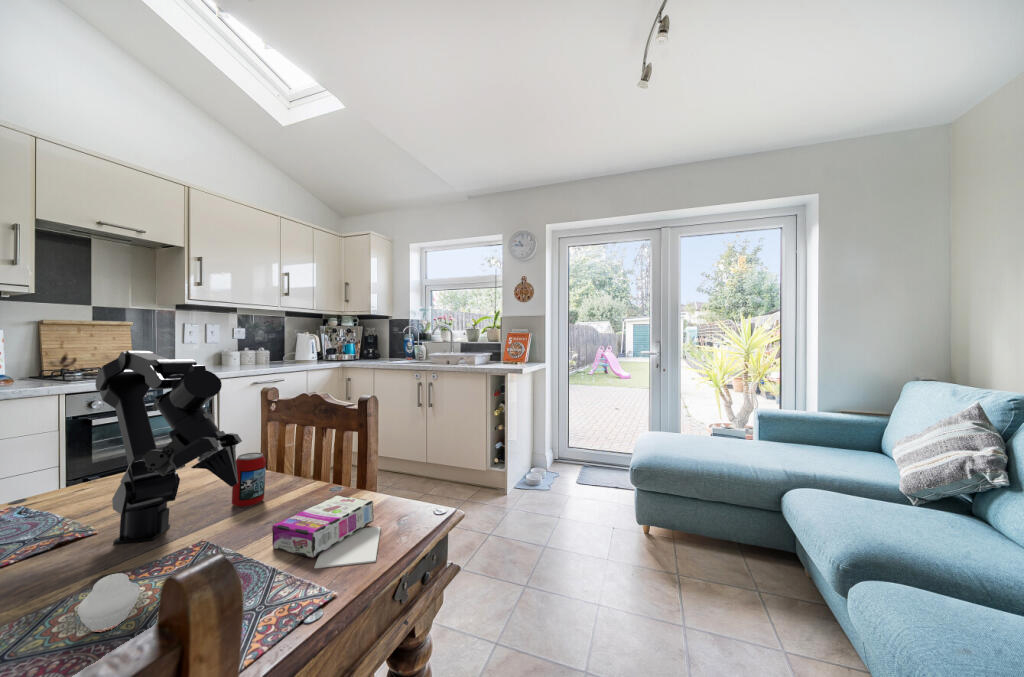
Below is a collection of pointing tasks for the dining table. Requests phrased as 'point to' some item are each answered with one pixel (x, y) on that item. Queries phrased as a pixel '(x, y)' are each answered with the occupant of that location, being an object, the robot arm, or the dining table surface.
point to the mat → (352, 549)
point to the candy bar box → (322, 525)
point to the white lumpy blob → (108, 602)
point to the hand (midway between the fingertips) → (234, 485)
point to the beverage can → (249, 480)
